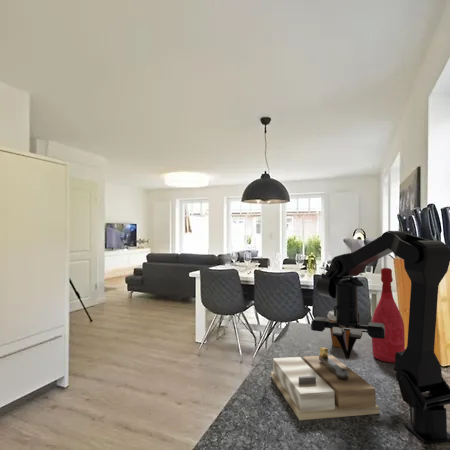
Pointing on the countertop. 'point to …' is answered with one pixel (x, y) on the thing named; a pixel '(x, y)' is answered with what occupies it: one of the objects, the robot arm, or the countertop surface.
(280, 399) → the countertop surface
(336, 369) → the latch bar
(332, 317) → the disposable coffee cup
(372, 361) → the countertop surface
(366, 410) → the door and jamb
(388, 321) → the wine bottle
